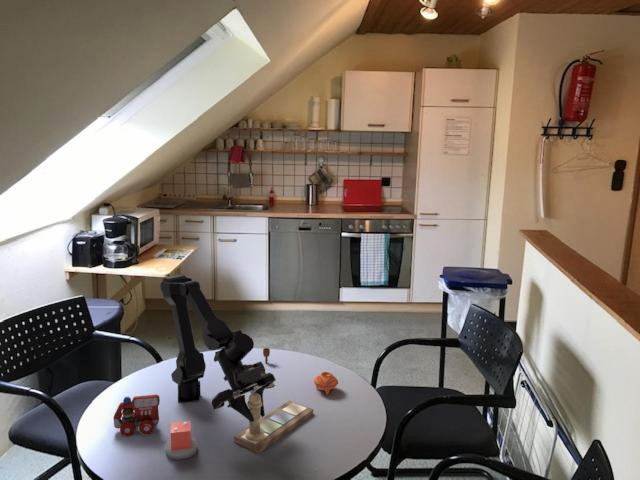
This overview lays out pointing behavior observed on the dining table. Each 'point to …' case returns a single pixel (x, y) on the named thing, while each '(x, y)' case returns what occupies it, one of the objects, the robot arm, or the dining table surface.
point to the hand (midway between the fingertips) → (258, 418)
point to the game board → (276, 425)
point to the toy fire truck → (137, 414)
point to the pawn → (254, 427)
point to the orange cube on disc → (181, 441)
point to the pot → (326, 382)
